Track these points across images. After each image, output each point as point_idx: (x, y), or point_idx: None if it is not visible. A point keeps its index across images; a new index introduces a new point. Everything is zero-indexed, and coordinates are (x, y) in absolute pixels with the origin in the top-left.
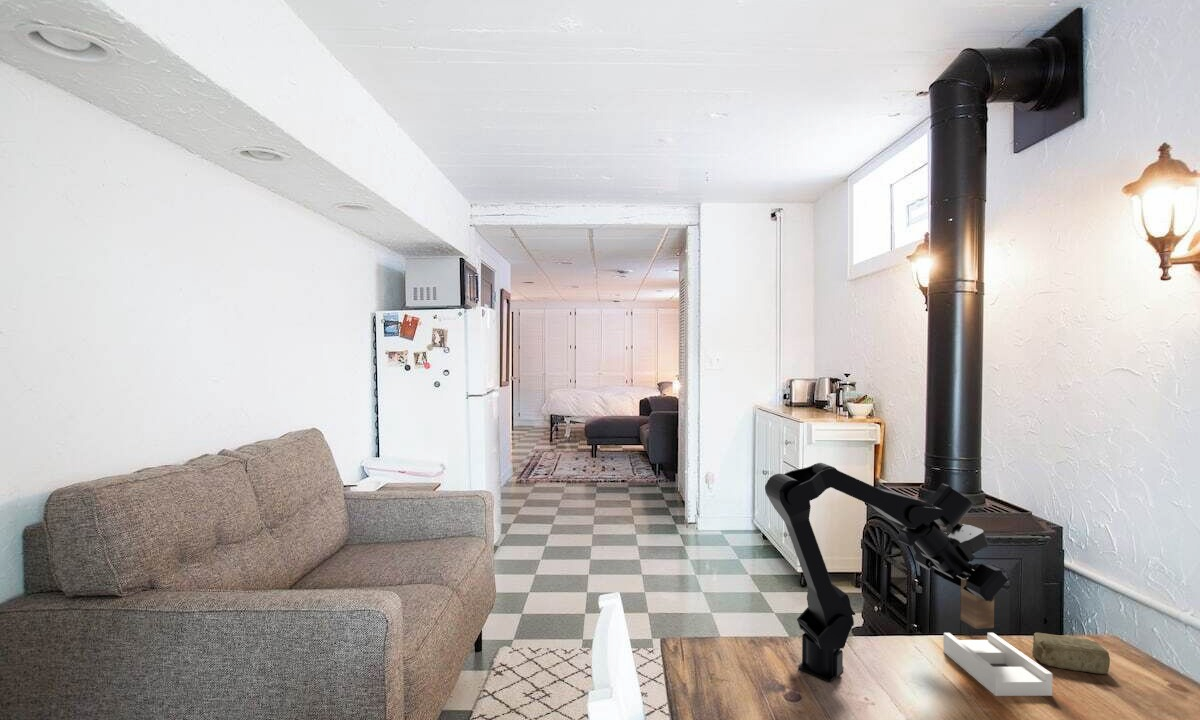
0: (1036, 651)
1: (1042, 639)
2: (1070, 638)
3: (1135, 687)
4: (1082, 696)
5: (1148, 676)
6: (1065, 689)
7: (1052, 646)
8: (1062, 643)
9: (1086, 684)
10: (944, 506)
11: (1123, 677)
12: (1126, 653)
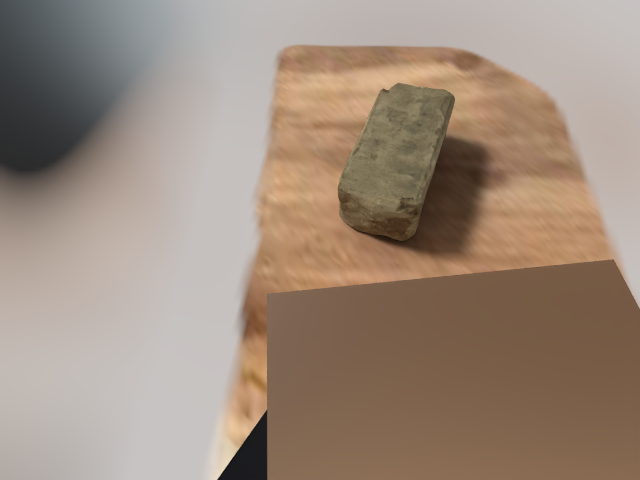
0: (380, 226)
1: (393, 195)
2: (381, 123)
3: (481, 122)
4: (553, 252)
5: (431, 77)
6: None
7: (425, 193)
8: (420, 161)
9: (487, 204)
10: None
11: None
12: (344, 56)
